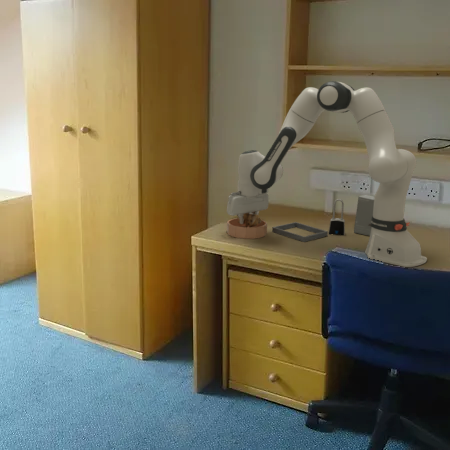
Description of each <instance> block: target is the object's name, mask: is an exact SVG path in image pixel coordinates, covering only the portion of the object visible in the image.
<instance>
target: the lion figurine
mask: <svg viewBox="0 0 450 450" xmlns="http://www.w3.org/2000/svg"><path fill="white" fill-rule="evenodd" d="M236 216H237V217H238V215H236ZM242 217H243V219H244V220H245V222H246V223H245V228H247V227H248V226H249V227H253V226H257V225H258V224H260V223H261V221H262V220H263V219H261V218H260V215H259V214H258V215H256V214H249V213H245V214H243V216H242ZM238 223H240V219H239V220H238Z"/></svg>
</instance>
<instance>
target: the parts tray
mask: <svg viewBox="0 0 450 450" xmlns="http://www.w3.org/2000/svg"><path fill="white" fill-rule="evenodd" d="M271 227H272V226H271ZM293 228H297V229H301V230H304V231H307V232H311V233H313V234H310V235H305V236H304V235H300V234H297V233H293V232H290V231H287V230H288V229H293ZM271 232H273V233H275V234H278V235H282V236H283V237H288V238H290V239H294V240H297V241H299V242H303V243H305V242H310V241H313V240H318V239H321V238H326V237H328V235H329V234H328V233H329V230H324V229H320V228H317V227H315V226H310V225H307V224H305V223H304V224H303V223H300V222H297V221H294V222H290V223H285V224H280V225H276V226H273V227H272V228H271ZM325 236H326V237H325Z"/></svg>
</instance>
